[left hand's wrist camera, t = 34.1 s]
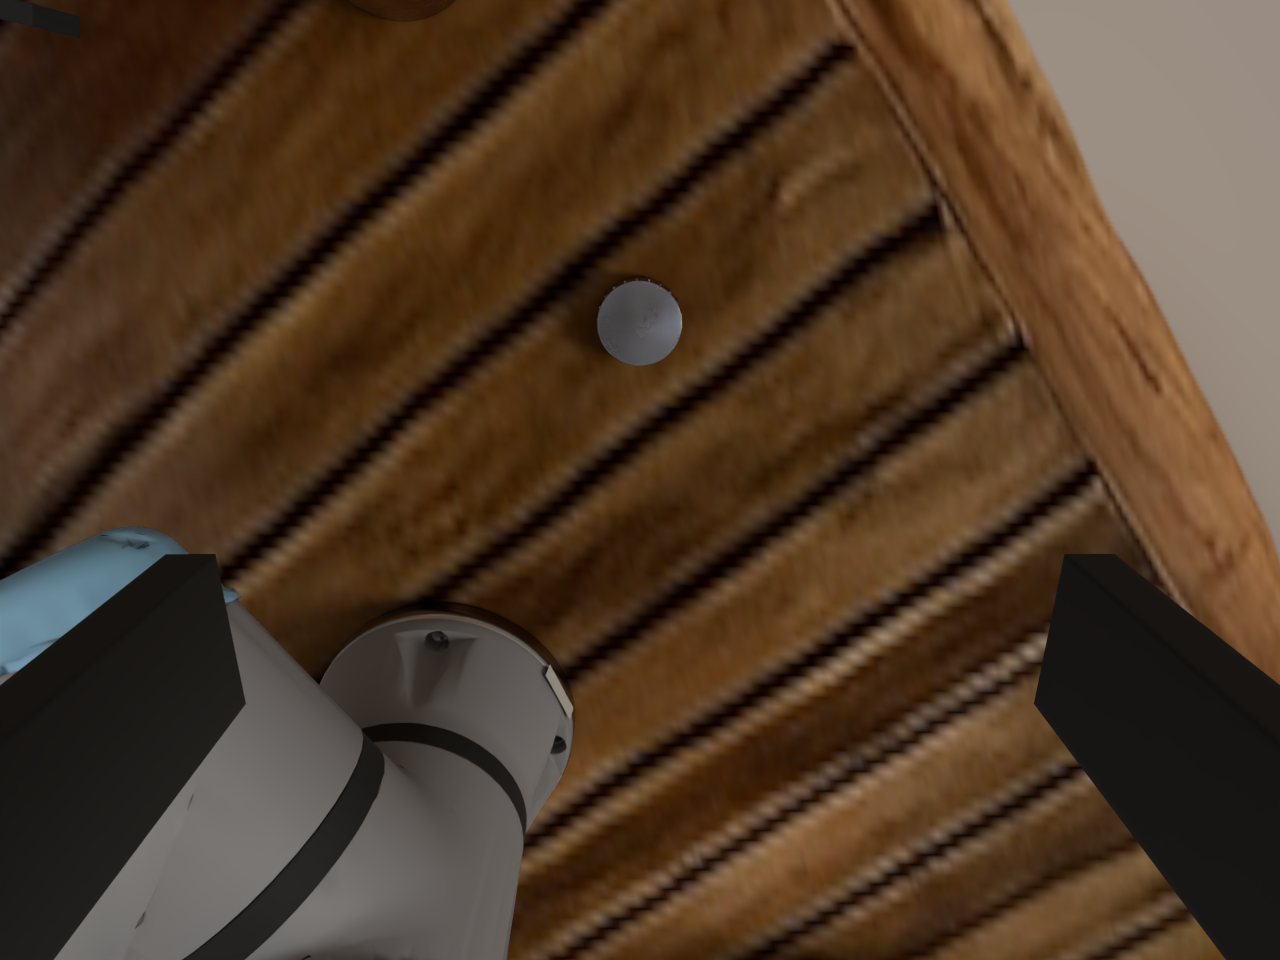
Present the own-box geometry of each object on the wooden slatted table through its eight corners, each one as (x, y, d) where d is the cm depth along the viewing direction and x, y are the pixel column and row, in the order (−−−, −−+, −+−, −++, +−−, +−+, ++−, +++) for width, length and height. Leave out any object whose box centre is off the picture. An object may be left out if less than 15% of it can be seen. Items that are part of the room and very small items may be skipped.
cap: (695, 335, 41) (698, 341, 40) (622, 374, 42) (622, 381, 40) (657, 260, 40) (657, 263, 38) (582, 301, 41) (580, 306, 39)
